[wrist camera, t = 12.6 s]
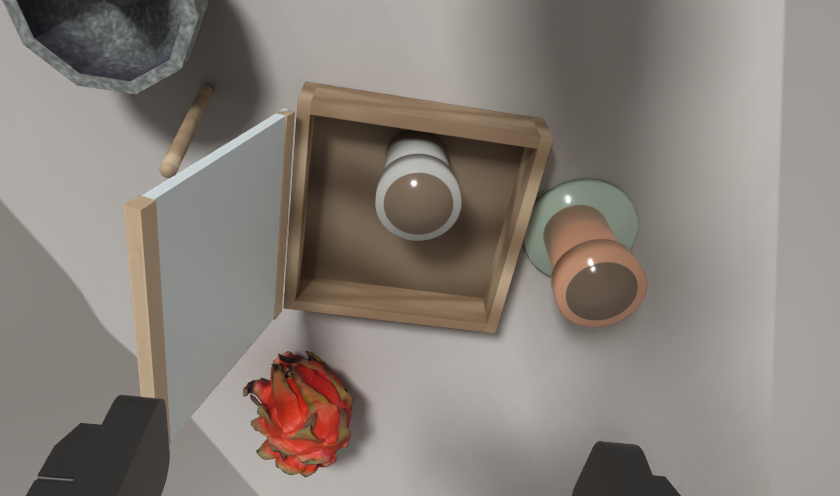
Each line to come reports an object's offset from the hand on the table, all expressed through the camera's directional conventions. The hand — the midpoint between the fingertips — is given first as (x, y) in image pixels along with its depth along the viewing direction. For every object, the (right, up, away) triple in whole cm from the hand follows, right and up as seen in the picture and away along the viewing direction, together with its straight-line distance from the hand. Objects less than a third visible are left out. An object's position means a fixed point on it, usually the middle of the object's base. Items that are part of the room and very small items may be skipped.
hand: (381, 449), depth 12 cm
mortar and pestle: (-16, +21, +25) cm, 36 cm away
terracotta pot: (+12, +5, +35) cm, 37 cm away
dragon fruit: (-9, -8, +44) cm, 45 cm away
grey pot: (0, +10, +32) cm, 33 cm away
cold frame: (-3, +7, +34) cm, 35 cm away
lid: (-10, +2, +24) cm, 26 cm away
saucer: (+13, +5, +36) cm, 38 cm away
